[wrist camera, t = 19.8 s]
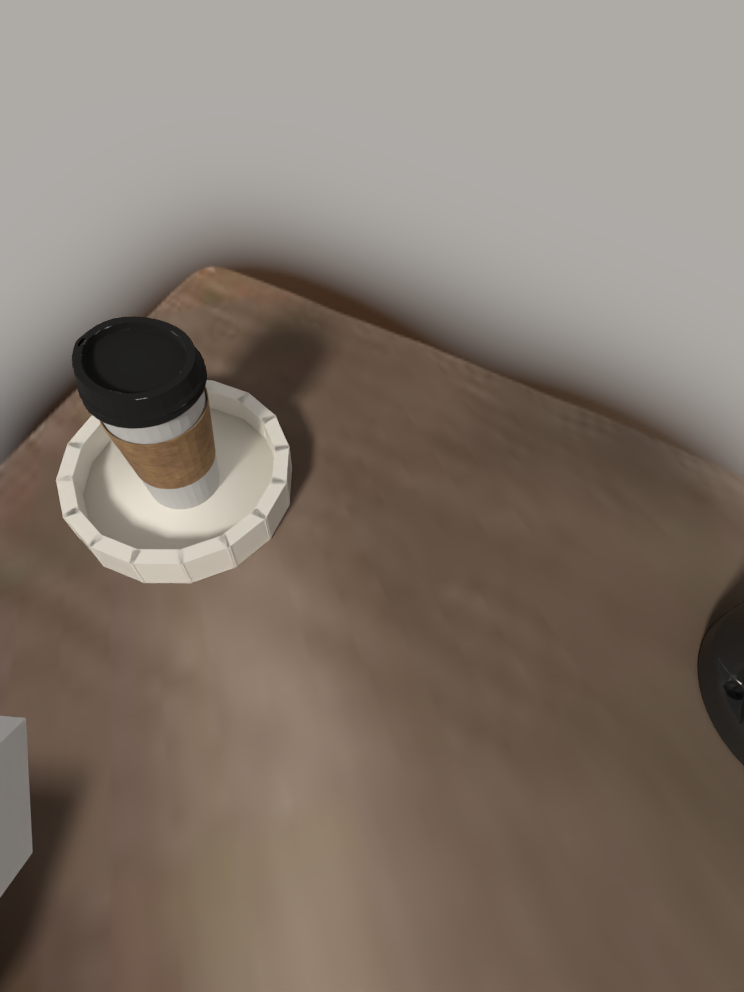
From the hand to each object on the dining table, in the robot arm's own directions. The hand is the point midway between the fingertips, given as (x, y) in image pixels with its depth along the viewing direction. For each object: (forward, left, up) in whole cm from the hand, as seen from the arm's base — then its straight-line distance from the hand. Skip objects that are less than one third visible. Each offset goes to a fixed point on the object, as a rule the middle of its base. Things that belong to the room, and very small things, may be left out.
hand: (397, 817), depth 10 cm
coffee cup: (-9, -30, -32) cm, 45 cm away
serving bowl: (-9, -30, -33) cm, 46 cm away
